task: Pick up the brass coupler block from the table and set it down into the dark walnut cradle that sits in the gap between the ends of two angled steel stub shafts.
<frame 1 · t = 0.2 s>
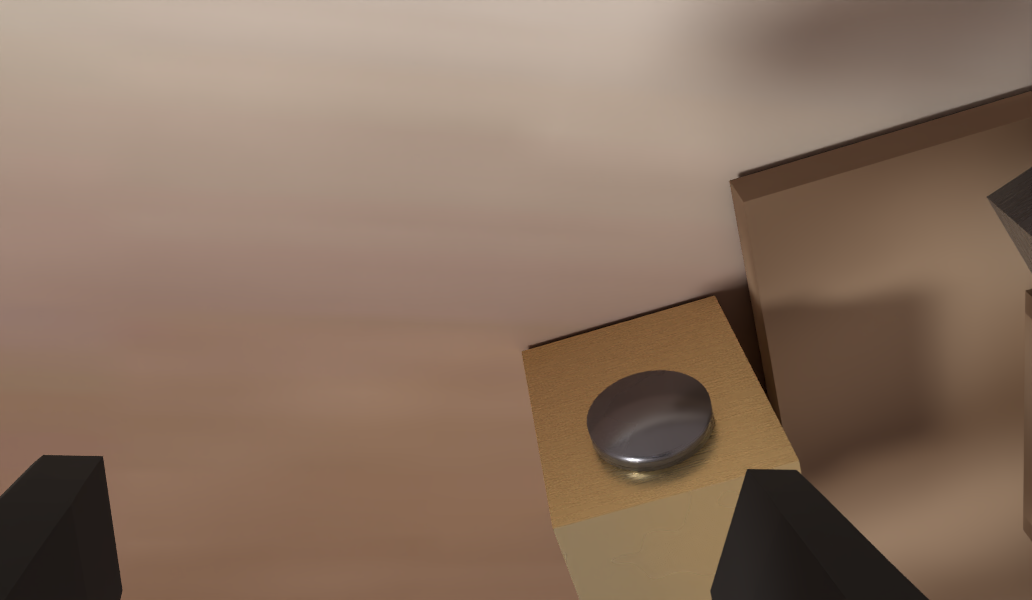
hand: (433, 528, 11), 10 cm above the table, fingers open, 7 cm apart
coupler: (638, 398, 23), on the table
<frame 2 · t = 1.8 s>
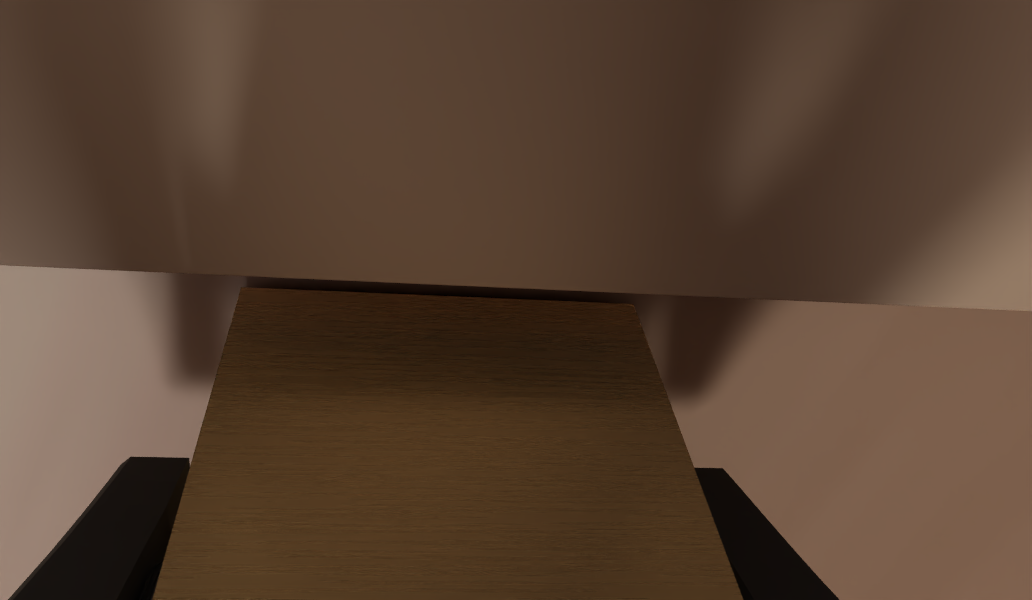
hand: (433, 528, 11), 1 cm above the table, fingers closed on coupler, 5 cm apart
coupler: (430, 447, 12), on the table, touching gripper
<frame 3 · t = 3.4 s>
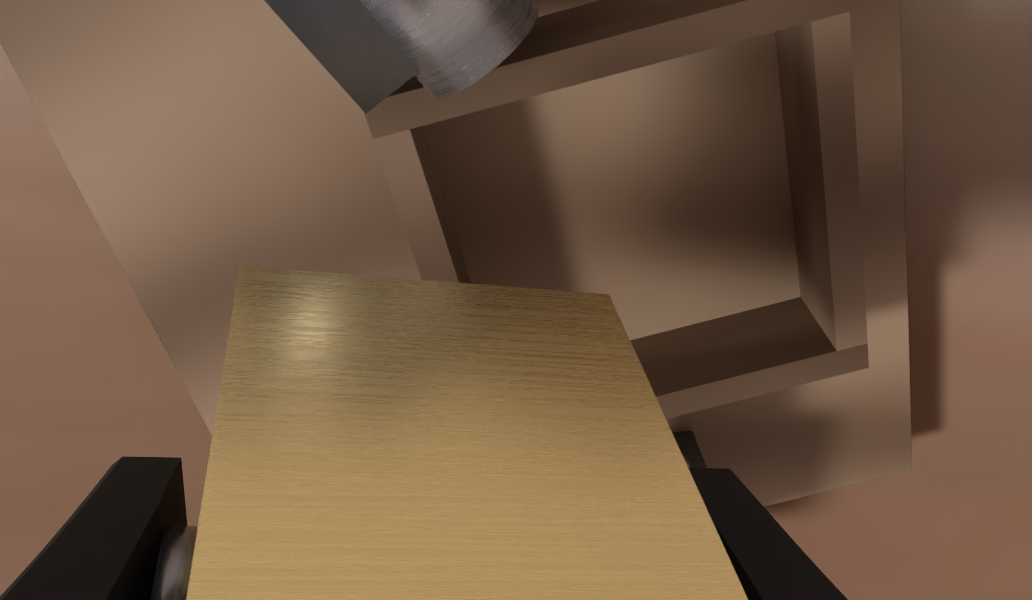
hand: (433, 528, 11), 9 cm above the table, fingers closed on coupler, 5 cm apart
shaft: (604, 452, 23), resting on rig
coupler: (409, 425, 13), point 7 cm above the table, touching gripper
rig: (521, 225, 20), on the table
when the fingers open (4 cm above the table, at t = 5.2 s): coupler stays where it is, resting on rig.
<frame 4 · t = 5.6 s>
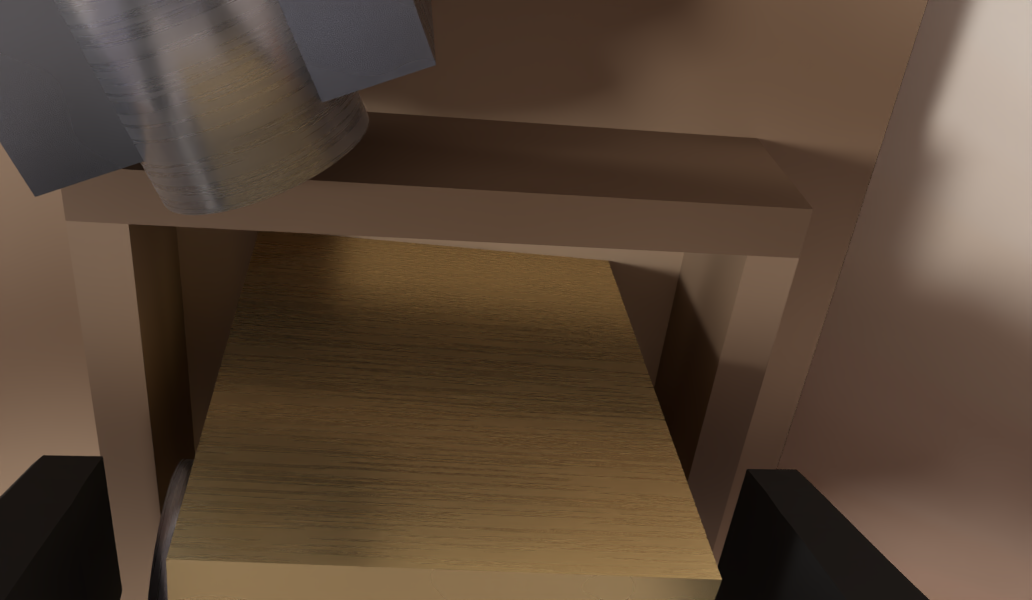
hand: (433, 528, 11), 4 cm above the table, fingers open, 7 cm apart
coupler: (420, 385, 14), point 1 cm above the table, touching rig
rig: (290, 361, 14), on the table
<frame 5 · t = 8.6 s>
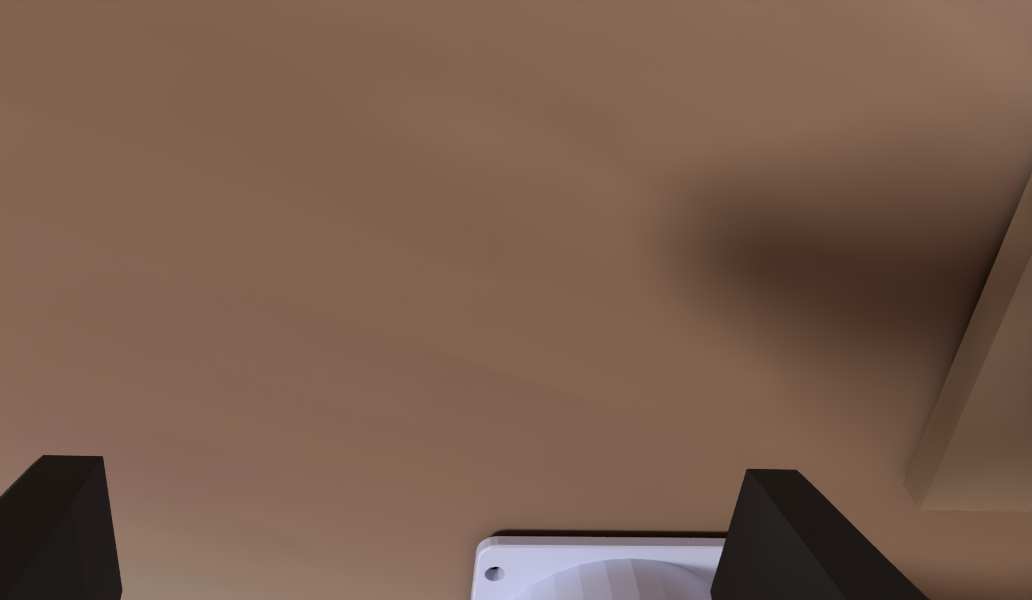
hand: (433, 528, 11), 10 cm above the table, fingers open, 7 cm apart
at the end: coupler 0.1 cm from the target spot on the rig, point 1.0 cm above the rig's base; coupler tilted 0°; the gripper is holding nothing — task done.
